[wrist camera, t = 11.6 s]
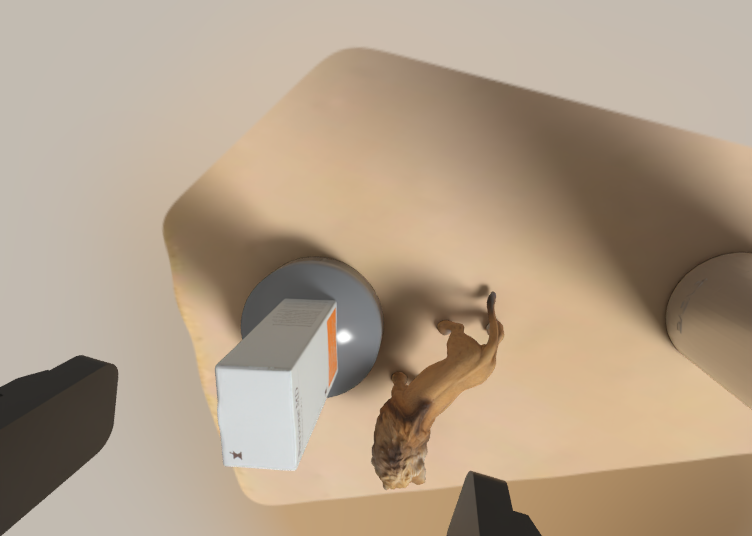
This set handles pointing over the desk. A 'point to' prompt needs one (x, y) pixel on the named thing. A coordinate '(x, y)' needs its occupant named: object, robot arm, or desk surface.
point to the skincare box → (277, 385)
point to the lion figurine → (429, 401)
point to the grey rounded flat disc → (354, 311)
